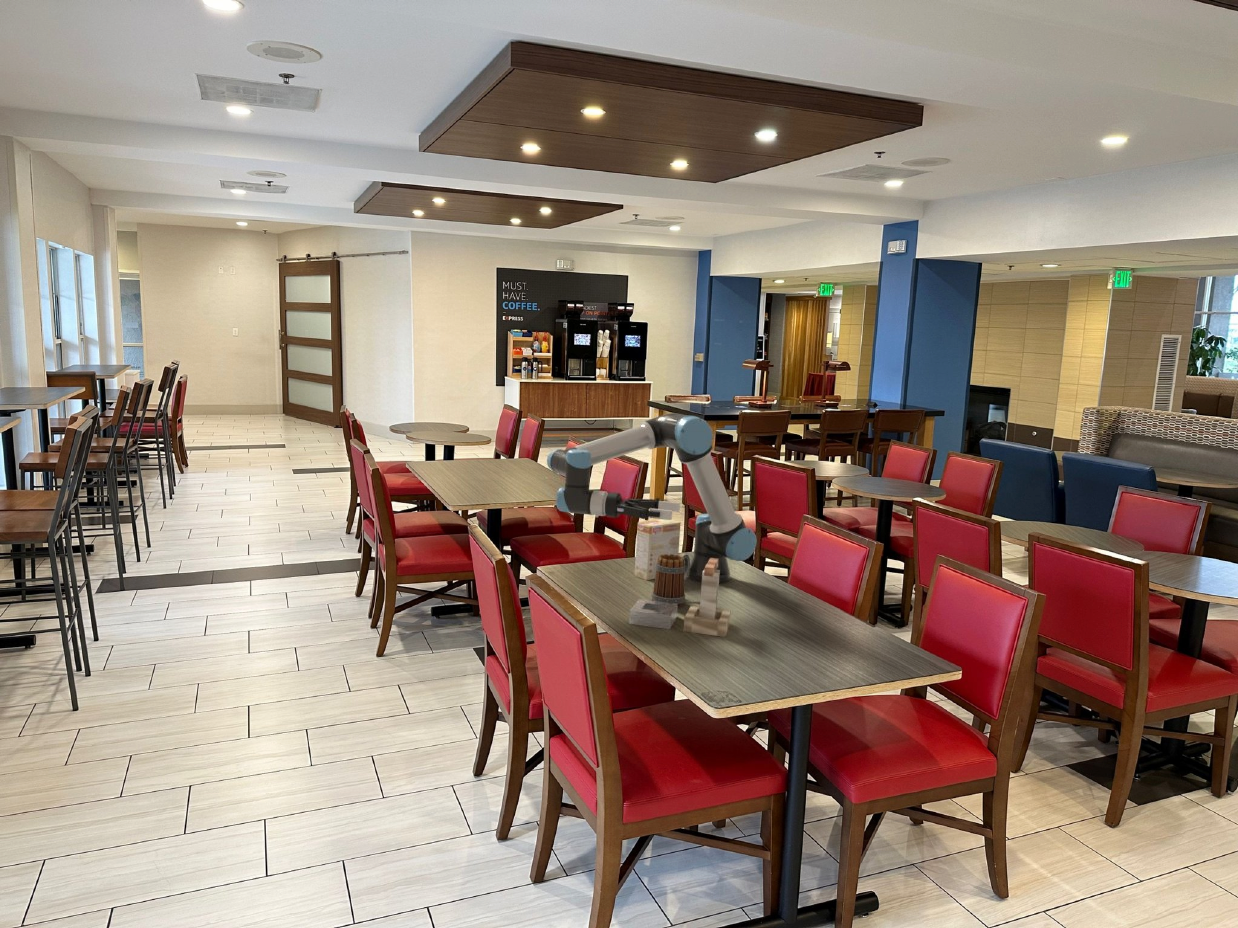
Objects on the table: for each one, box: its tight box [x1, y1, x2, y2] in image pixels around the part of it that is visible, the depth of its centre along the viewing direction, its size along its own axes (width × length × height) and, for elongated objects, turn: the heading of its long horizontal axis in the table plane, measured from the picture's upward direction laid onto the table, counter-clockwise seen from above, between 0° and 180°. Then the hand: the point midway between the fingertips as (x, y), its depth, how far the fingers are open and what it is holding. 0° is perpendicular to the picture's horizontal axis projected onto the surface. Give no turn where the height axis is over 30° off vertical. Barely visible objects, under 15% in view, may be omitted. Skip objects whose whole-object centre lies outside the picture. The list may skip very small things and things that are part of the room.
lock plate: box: [628, 598, 679, 630], centre depth 246 cm, size 12×12×4 cm
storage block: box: [683, 605, 732, 638], centre depth 243 cm, size 12×12×4 cm
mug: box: [651, 553, 691, 608], centre depth 266 cm, size 16×11×15 cm
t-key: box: [699, 558, 720, 619], centre depth 242 cm, size 12×4×19 cm, turn 166°
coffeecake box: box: [634, 519, 682, 581], centre depth 295 cm, size 15×7×20 cm, turn 130°
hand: (675, 511), depth 248 cm, fingers open, 13 cm apart
